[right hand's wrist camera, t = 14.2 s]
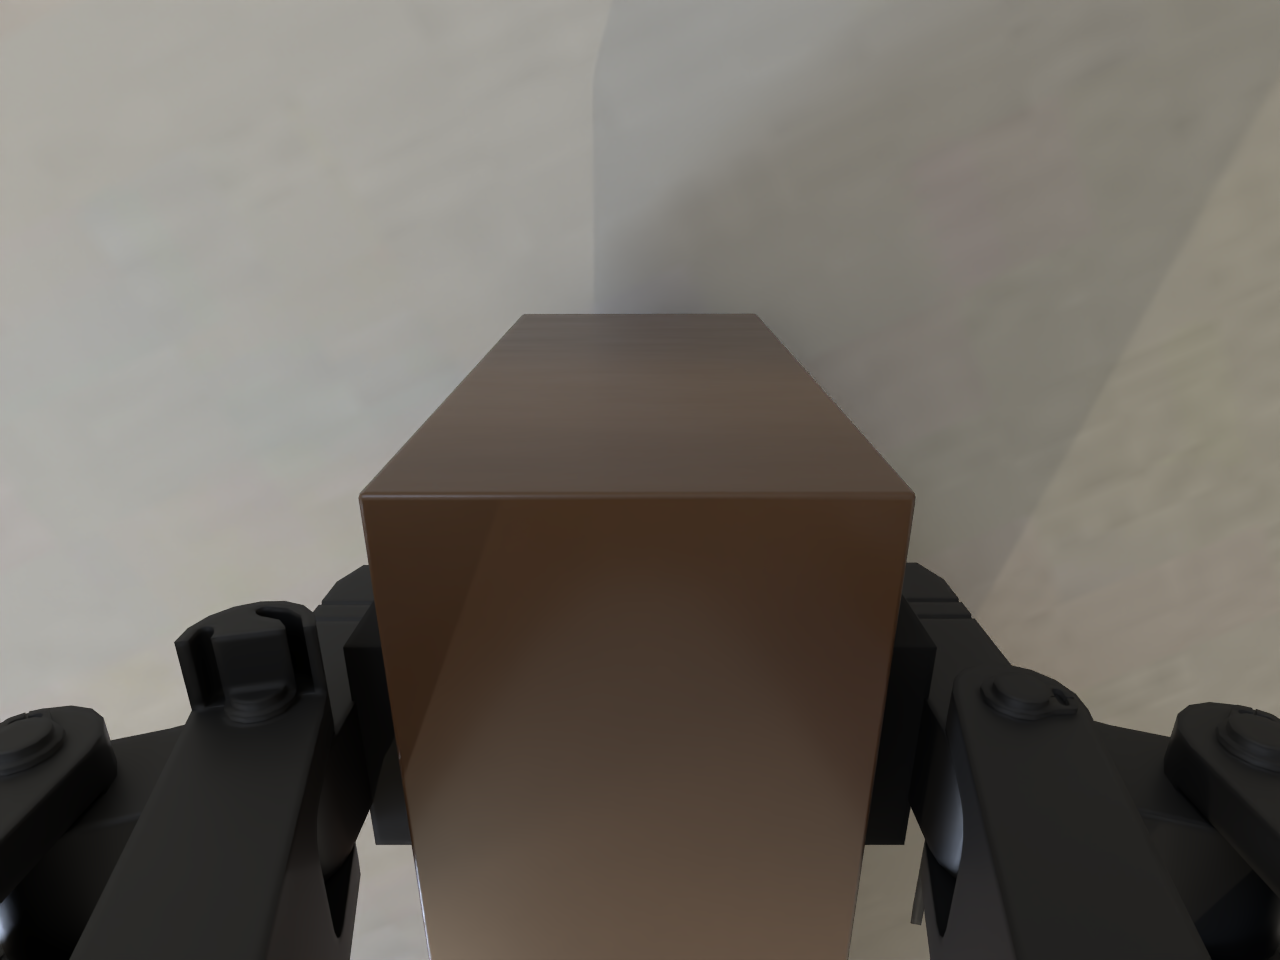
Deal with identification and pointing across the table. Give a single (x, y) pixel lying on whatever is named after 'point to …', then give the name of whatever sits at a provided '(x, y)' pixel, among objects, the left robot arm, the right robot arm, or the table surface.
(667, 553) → the bar
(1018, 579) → the table surface
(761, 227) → the table surface
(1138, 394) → the table surface
